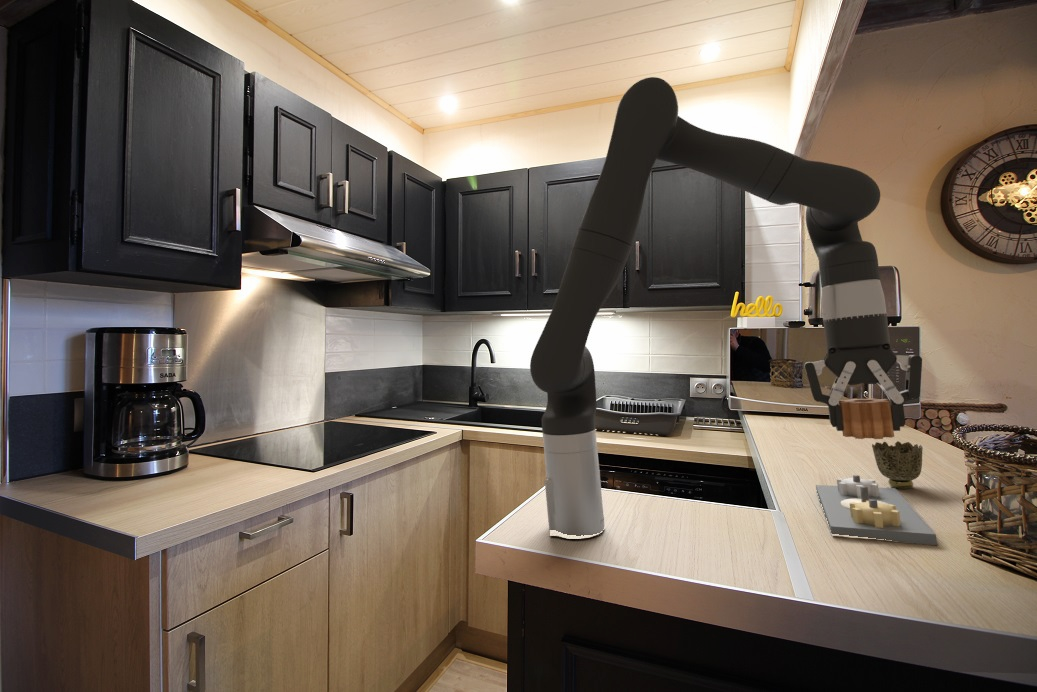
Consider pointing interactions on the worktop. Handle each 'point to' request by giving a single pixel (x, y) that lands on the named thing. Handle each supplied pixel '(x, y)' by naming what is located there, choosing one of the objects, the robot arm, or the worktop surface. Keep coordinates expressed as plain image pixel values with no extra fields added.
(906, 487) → the cup
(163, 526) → the worktop surface
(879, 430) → the idler gear
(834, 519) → the gear board
